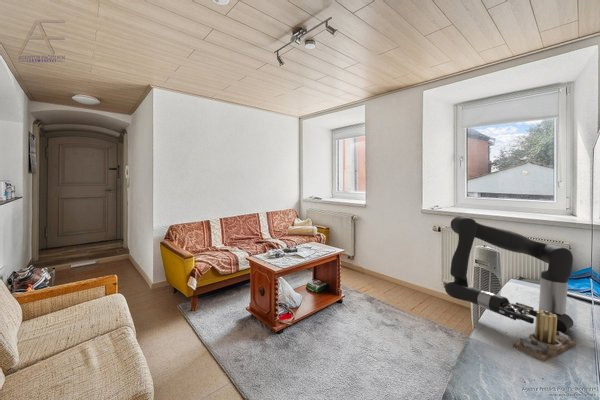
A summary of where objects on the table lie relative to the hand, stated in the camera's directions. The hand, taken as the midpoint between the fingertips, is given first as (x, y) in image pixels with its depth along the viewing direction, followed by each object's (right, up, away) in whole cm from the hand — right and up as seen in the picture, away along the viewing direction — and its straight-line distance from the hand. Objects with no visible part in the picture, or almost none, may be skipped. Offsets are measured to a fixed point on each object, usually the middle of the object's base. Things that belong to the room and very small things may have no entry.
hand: (539, 319), depth 102 cm
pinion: (+1, -8, -2) cm, 8 cm away
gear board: (+1, -9, -2) cm, 9 cm away
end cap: (+16, -10, +9) cm, 21 cm away
